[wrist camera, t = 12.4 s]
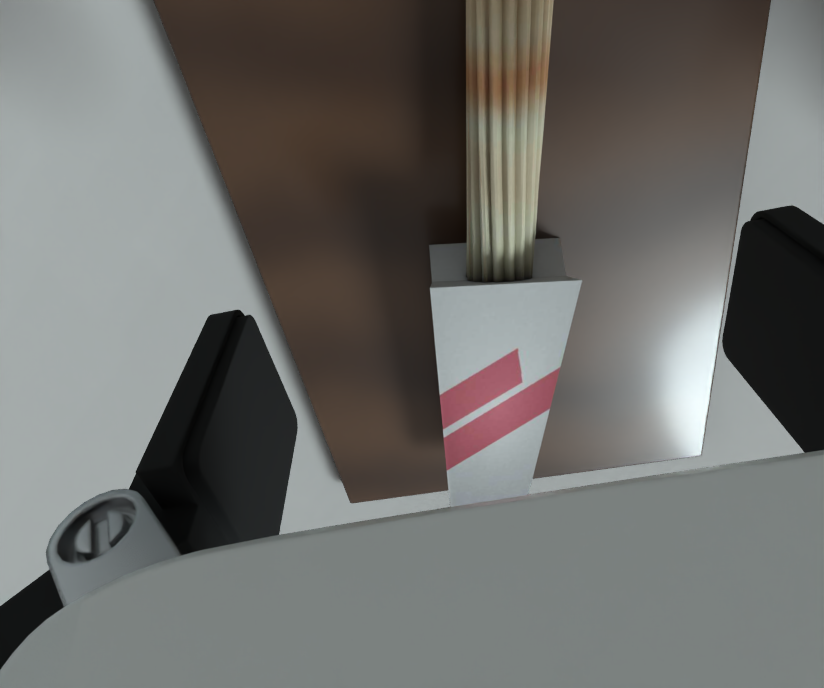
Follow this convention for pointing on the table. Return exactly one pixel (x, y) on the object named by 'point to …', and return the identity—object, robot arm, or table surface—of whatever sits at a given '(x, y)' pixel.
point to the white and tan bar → (500, 266)
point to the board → (447, 208)
